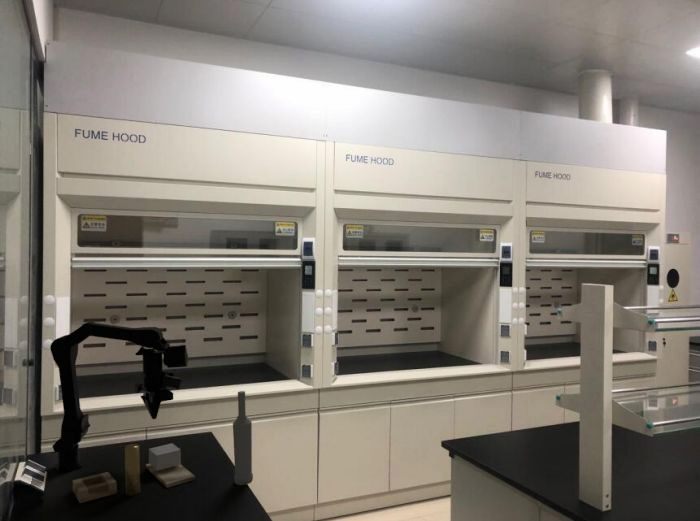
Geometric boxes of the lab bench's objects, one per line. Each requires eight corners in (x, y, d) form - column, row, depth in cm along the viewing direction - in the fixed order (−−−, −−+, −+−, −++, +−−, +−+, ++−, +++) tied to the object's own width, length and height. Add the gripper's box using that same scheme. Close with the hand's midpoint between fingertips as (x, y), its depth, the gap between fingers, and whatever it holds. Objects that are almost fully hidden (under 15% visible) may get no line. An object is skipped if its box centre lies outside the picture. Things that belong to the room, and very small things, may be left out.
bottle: (256, 478, 152) (254, 390, 152) (247, 486, 147) (244, 395, 147) (240, 476, 154) (238, 389, 153) (230, 484, 149) (228, 393, 148)
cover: (149, 463, 161) (148, 448, 160) (172, 457, 165) (172, 443, 165) (157, 470, 155) (156, 455, 155) (180, 464, 159) (180, 449, 159)
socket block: (72, 491, 146) (72, 480, 146) (108, 482, 152) (107, 471, 152) (80, 503, 139) (79, 491, 139) (116, 493, 145) (116, 482, 144)
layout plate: (146, 467, 161) (146, 463, 161) (172, 460, 166) (172, 456, 166) (166, 487, 147) (166, 483, 147) (195, 479, 152) (195, 475, 152)
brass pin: (124, 492, 145) (122, 446, 145) (138, 488, 147) (136, 442, 147) (128, 496, 142) (126, 449, 142) (142, 492, 144) (140, 446, 144)
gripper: (189, 369, 164) (190, 420, 164) (168, 360, 179) (169, 407, 179) (152, 375, 157) (153, 428, 158) (133, 365, 172) (134, 414, 172)
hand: (154, 418), depth 167 cm, fingers closed
